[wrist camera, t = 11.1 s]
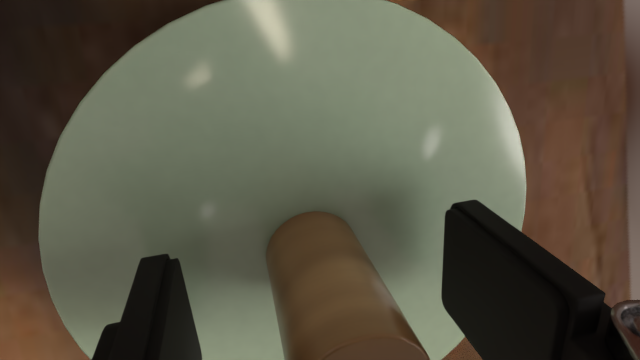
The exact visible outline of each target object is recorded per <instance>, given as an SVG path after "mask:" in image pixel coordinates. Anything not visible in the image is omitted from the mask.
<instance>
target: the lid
mask: <svg viewBox="0 0 640 360" xmlns="http://www.w3.org/2000/svg"><path fill="white" fill-rule="evenodd" d="M475 199H476V200H478V201H479V202H481V203H482V204H483V205H485V206H486V207H488V208H489V209H490V210H492V211H493V212H494V213H496V214H497V215H499V216H500V217H501V218H503V219H504V220H505V221H507V222H508V223H510V224H511V225H512V226H514V227H515V228H516V229H518V230H519V231H521V230H522V224H523V219H524V214H525V202H526V172H525V159H524V154H523V150H522V145H521V140H520V135H519V132H518V129H517V127H516V124H515V121H514V119H513V116H512V113H511V110H510V108H509V106H508V104H507V102H506V100H505V99H504V97H503V95H502V93H501V91H500V90H499V88H498V86H497V84H496V82H495V81H494V80H493V78H492V77H491V76H490V75H489V73H488V72H487V71H486V69H485V68H484V67H483V65H482V64H481V63H480V62H479V60H478V59H477V58H476V57H475V56H474V55H473V54H472V53H471V52H470V51H469V50H468V49H467V48H466V47H464V46H463V45H462V44H461V43H460V42H459V41H458V40H457V39H456V38H455V37H454V36H452V35H451V34H449V33H448V32H446V31H445V30H444V29H442V28H441V27H439V26H438V25H436V24H435V23H433V22H432V21H430V20H429V19H428V18H425V17H423V16H421V15H419V14H417V13H415V12H413V11H411V10H409V9H407V8H405V7H403V6H401V5H399V4H396V3H393V2H390V1H386V0H222V1H219V2H216V3H212V4H209V5H206V6H204V7H202V8H199V9H197V10H195V11H193V12H191V13H189V14H186V15H184V16H182V17H180V18H178V19H176V20H174V21H171V22H169V23H168V24H166V25H165V26H163V27H162V28H160V29H158V30H157V31H155V32H154V33H152V34H151V35H149V36H148V37H146V38H145V39H143V40H142V41H140V42H139V43H137V44H136V45H134V46H133V47H132V48H131V49H130V50H129V51H128V52H126V53H125V54H124V55H123V56H122V57H121V58H120V59H119V60H117V61H116V62H115V63H114V64H113V65H112V66H111V67H110V68H109V69H107V70H106V71H105V72H104V73H103V74H102V76H101V77H100V78H99V79H98V81H97V82H96V83H95V84H94V85H93V87H92V88H91V89H90V90H89V92H88V93H87V94H86V95H85V96H84V98H83V99H82V100H81V101H80V102H79V104H78V106H77V107H76V109H75V111H74V113H73V114H72V116H71V118H70V119H69V121H68V123H67V124H66V126H65V128H64V130H63V131H62V133H61V135H60V137H59V139H58V142H57V144H56V147H55V150H54V152H53V155H52V157H51V160H50V162H49V165H48V168H47V171H46V175H45V180H44V185H43V190H42V195H41V199H40V206H39V233H38V239H39V246H40V254H41V261H42V269H43V273H44V276H45V279H46V283H47V286H48V289H49V293H50V296H51V299H52V301H53V303H54V305H55V307H56V309H57V311H58V313H59V315H60V317H61V320H62V322H63V324H64V326H65V327H66V329H67V330H68V331H69V333H70V334H71V336H72V337H73V339H74V340H75V341H76V343H77V344H78V346H79V347H80V348H81V350H82V351H83V352H84V353H85V354H86V355H87V356H88V357H89V358H90V359H91V360H92V358H93V355H94V352H95V349H96V347H97V344H98V341H99V339H100V336H101V333H102V331H103V329H104V327H105V326H106V325H108V324H111V323H116V322H120V321H121V317H122V314H123V311H124V308H125V305H126V302H127V299H128V296H129V293H130V290H131V287H132V283H133V280H134V277H135V274H136V271H137V268H138V265H139V262H140V259H141V258H144V257H150V256H155V255H161V254H168V255H169V257H170V259H175V258H178V259H179V261H180V265H181V269H182V273H183V277H184V281H185V285H186V290H187V294H188V298H189V302H190V306H191V310H192V314H193V318H194V323H195V327H196V331H197V335H198V339H199V343H200V347H201V353H202V360H442V359H443V358H444V357H445V356H446V355H447V354H448V353H449V352H451V351H452V350H453V349H454V348H455V347H456V346H457V345H458V344H459V343H460V342H461V341H462V340H463V338H464V337H465V335H464V334H463V333H462V331H461V330H460V329H459V327H458V326H457V325H456V323H455V322H454V321H453V319H452V318H451V317H450V315H449V314H448V313H447V311H446V310H445V308H444V306H443V303H442V298H441V291H442V269H443V246H444V224H445V213H446V211H447V210H450V208H451V206H452V204H453V203H457V202H463V201H468V200H475Z"/></svg>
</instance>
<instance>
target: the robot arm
mask: <svg viewBox="0 0 640 360" xmlns="http://www.w3.org/2000/svg"><path fill="white" fill-rule="evenodd" d="M604 297H605V293H604V292H603V291H602V290H600V289H599V288H597V287H596V286H595V285H593V284H592V283H591V282H589V281H588V280H586V279H585V278H584V277H582V276H581V275H580V274H578V273H577V272H575V271H574V270H573V269H571V268H570V267H569V266H567V265H566V264H564V263H563V262H562V261H560V260H559V259H558V258H556V257H555V256H553V255H552V254H551V253H549V252H548V251H547V250H545V249H544V248H542V247H541V246H540V245H538V244H537V243H536V242H534V241H533V240H532V239H530V238H529V237H527V236H526V235H525V234H523V233H522V232H521V231H519V230H518V229H516V228H515V227H514V226H512V225H511V224H510V223H508V222H507V221H505V220H504V219H503V218H501V217H500V216H499V215H497V214H496V213H494V212H493V211H492V210H490V209H489V208H488V207H486V206H485V205H483V204H482V203H481V202H479V201H478V200H476V199H475V200H468V201H463V202H457V203H453V204H452V206H451V208H450V210H447V211H446V213H445V224H444V246H443V269H442V291H441V298H442V303H443V306H444V308H445V310H446V311H447V313H448V314H449V315H450V317H451V318H452V319H453V321H454V322H455V323H456V325H457V326H458V327H459V329H460V330H461V331H462V333H463V334H464V335H465V336H466V338H467V339H468V340H469V342H470V343H471V344H472V346H473V347H474V348H475V350H476V351H477V352H478V354H479V355H480V356H481V358H482V359H483V360H640V300H626V301H623V302H619V303H617V304H616V305H615V306H614V307H612V308H611V307H609V306H608V305H607V304H605V303H604V302H603V301H604ZM92 360H202V353H201V347H200V343H199V339H198V335H197V331H196V327H195V323H194V318H193V314H192V310H191V306H190V302H189V298H188V294H187V290H186V285H185V281H184V277H183V273H182V269H181V265H180V261H179V259H178V258H175V259H170V257H169V255H168V254H161V255H155V256H150V257H144V258H141V259H140V262H139V265H138V268H137V271H136V274H135V277H134V280H133V283H132V287H131V290H130V293H129V296H128V299H127V302H126V305H125V308H124V311H123V314H122V317H121V321H120V322H116V323H111V324H108V325H106V326H105V327H104V329H103V331H102V333H101V336H100V339H99V341H98V344H97V347H96V349H95V352H94V355H93V358H92Z"/></svg>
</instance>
